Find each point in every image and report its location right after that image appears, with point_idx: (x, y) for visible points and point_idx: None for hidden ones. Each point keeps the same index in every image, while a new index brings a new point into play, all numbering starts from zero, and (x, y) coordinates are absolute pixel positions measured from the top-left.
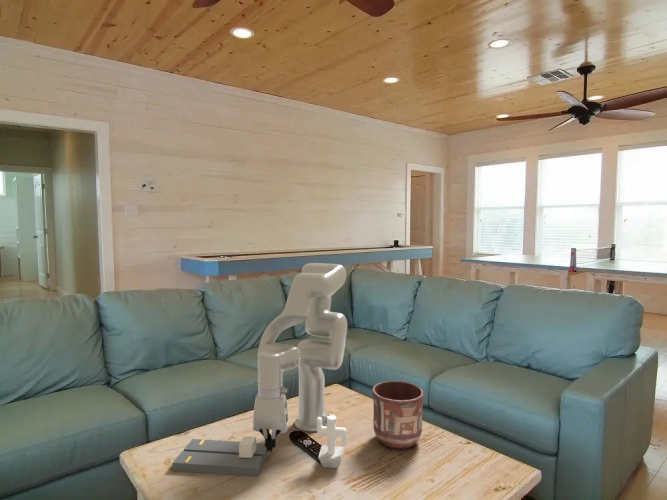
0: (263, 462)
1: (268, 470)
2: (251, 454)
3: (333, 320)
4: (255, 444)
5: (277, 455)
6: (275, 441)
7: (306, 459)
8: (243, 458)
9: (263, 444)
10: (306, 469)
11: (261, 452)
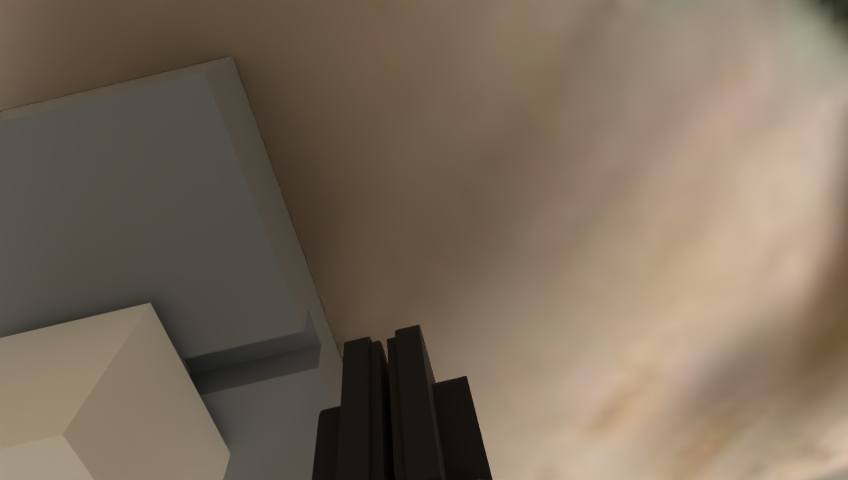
0: (318, 302)
1: None
2: None
3: None
4: (133, 397)
5: (390, 117)
6: (479, 431)
7: (753, 79)
8: None
9: (140, 133)
10: (769, 246)
11: (252, 315)
